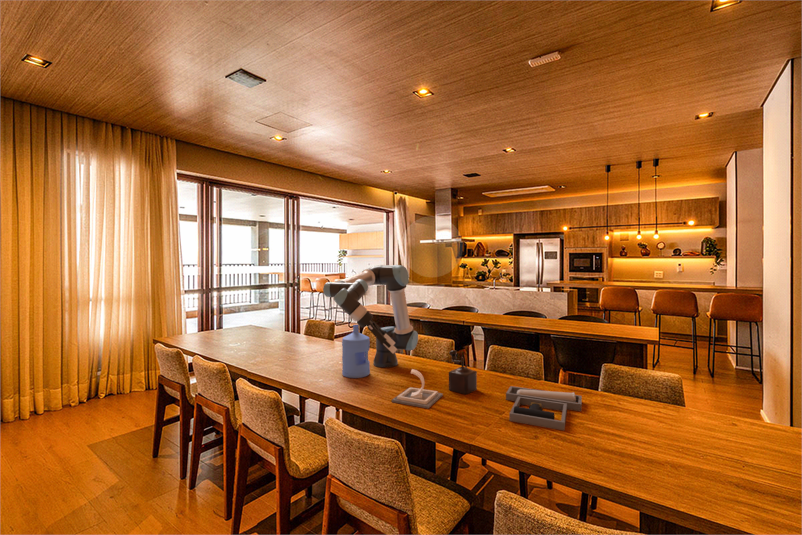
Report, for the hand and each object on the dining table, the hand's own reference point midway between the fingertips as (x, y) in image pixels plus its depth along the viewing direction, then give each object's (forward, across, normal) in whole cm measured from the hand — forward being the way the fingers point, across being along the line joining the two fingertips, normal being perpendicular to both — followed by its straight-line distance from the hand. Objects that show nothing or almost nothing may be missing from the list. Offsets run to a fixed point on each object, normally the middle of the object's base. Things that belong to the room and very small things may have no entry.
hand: (394, 348), depth 175 cm
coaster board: (+24, +1, -9) cm, 26 cm away
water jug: (+3, -40, -31) cm, 51 cm away
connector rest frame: (+58, +24, +25) cm, 68 cm away
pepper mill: (+40, -12, +6) cm, 43 cm away
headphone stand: (+24, 0, -8) cm, 25 cm away
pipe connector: (+56, +26, +22) cm, 66 cm away
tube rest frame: (+65, +8, +31) cm, 72 cm away
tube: (+65, +9, +31) cm, 73 cm away
